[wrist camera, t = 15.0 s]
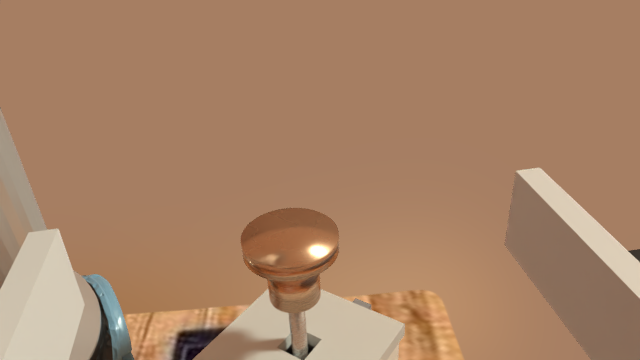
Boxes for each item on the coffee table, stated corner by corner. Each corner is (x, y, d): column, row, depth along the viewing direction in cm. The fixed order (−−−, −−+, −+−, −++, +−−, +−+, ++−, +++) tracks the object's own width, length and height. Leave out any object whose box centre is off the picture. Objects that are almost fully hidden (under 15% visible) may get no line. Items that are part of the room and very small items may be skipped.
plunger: (256, 459, 47) (220, 245, 36) (300, 404, 52) (280, 199, 40) (319, 500, 44) (301, 279, 33) (359, 437, 49) (356, 224, 37)
